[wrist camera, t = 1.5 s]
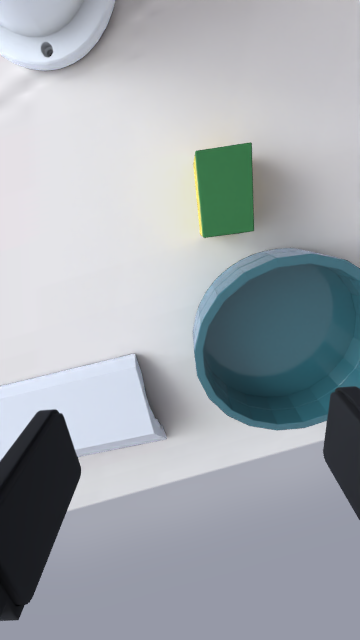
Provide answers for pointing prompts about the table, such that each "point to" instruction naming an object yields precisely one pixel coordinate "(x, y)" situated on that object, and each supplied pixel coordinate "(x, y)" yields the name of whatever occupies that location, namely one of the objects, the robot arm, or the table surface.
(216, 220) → the sponge
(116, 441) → the crown molding
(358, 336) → the bowl
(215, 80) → the table surface
